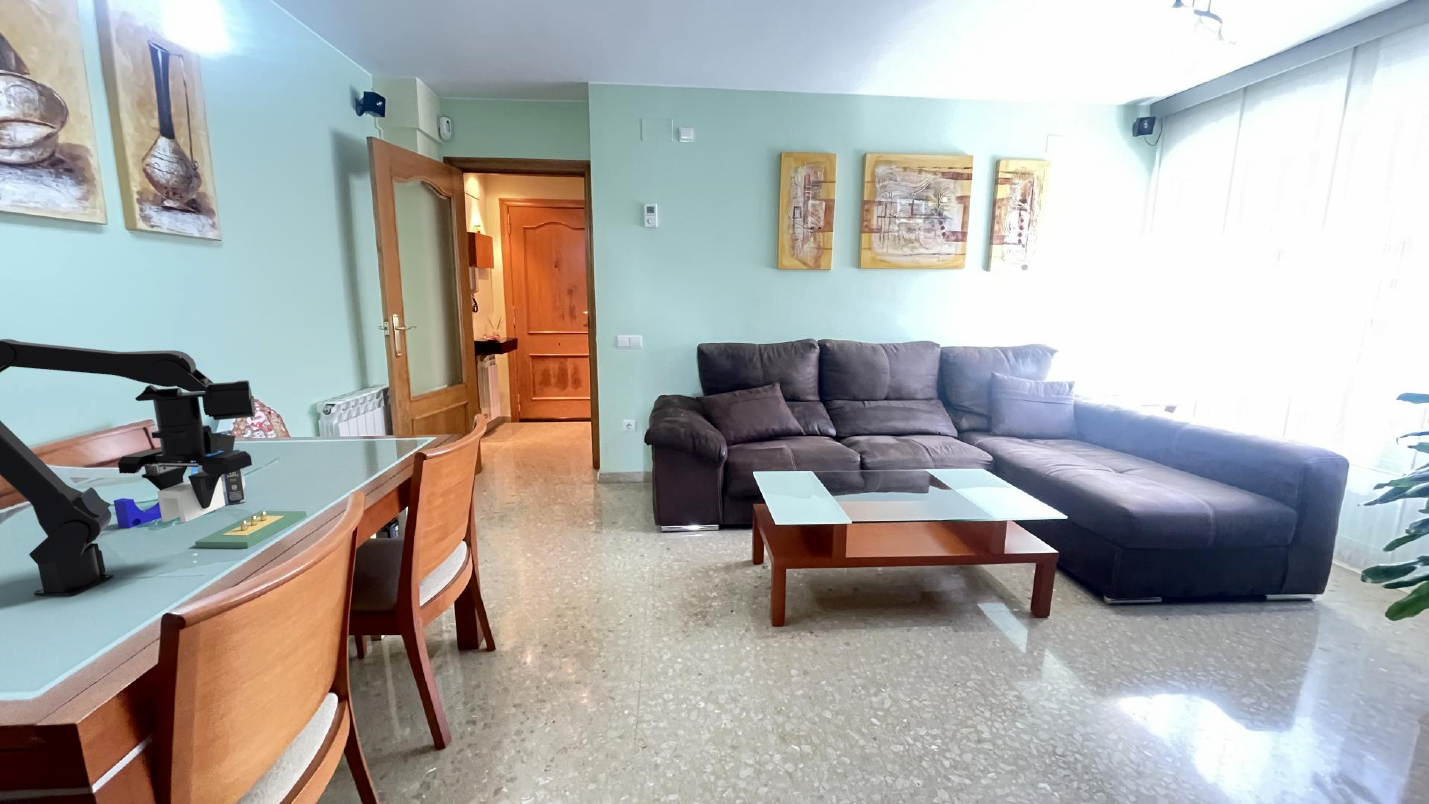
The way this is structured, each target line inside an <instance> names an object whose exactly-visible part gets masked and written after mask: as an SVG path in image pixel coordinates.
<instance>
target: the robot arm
mask: <svg viewBox="0 0 1429 804" xmlns="http://www.w3.org/2000/svg"><path fill="white" fill-rule="evenodd" d="M11 367H13V368H25V369H35V370H46V371H47V370H49V371H60V372H71V373H82V374H83V373H85V374H95V375H96V374H97V375H108V376H116V377H121V378H124V379H129V380H132V381H136V382H139V383H143V384H148V385H147V386H145V387H144V390H143V391H142V392H141V393H140V394H139V395H137V396H136V397H135V401H137V402H146V401H152V402H153V409H154V414H155V420H156V426H157V430H156V431H151V433H150V435H151V438H152V439H159V442H160V443H159V444H160V449H145V450H141V451H137V452H135V453H134V452H133V453H130V454H126V455H123V456H121V458H120V459H119V461H118V462H117V466H118V472H119V474H137V473H140V471H141V470H142V469H143V468H144V472H145V473H143V474H141V478H143V479H146V480H147V481H149V482H150V483H151V484H153V485H154V486H155V488H156V489H158V491H160V490H163V489H166V488H169V487H172V486H175V485H178V484H180V483H183V482H184V475H185V473H186V471H187V470H188V468H192V467H198V468H199V469H198V473H196V474H193V475H191V474H190V475H188V476H187V478H188V479H189V480H190V482H191V485H192V487H193V490H194V492H195V494H196V497H197V499H198V501H199V503H200V505H201V507H202V508H203V509H206V508H208V507H209V506H210V504H211V501H212V497H213V494H214V491H215V488H216V485H217V482H218V480H219V478H220V477H221V475H223V474H229V473H232V472H234V471H237V470H240V469H243V470H244V469H245V468H248V467H250V466H252V465H253V462H252V456H251V454H250V453H249V452H247V451H246V450H240V451H233V450H234V447H235V440H236V435H233V434H223V433H214V432H213V431H212V427H211V426H210V425H208V424H203V418H202V411H201V405H200V404H201V403H200V398H201V400H202V408H203V412H204V415H205V416H208V417H209V418H211V417H212V418H213V420H214V421H223V420H233V419H246V418H255V416H256V406H255V397H254V395H253V394H252V388H251V386H250V381H249V380H237V381H232V382H213V381H212V380H211V379H210V378H209V377H207V376H206V375H205V374H204V373H202V372H201V371H200V370H198V369H197V364H196V363H195V359H193V357H192V356H190V355H189V354H188V353H186V352H184V351H180V350H142V351H141V350H140V351H139V350H138V351H137V350H136V351H116V350H104V349H95V348H85V347H75V346H67V345H65V346H64V345H55V344H47V343H46V344H45V343H37V342H36V343H35V342H25V341H19V340H16V339H11V338H1V339H0V374H1V373H3V371H6V370H7V369H9V368H11ZM155 386H158V387H163V388H157V387H155ZM173 387H174V388H173ZM182 390H184V391H185V392H183V391H182ZM218 451H225V452H221V453H218V454H215V455H212V456H207V455H208V454H214V453H217V452H218ZM193 461H196V462H193ZM0 476H1V478H2V479H4V480H5V481H6V482H7V483H8V484H9V485H10V486H11V487H12V488H13V489H14V490H16V491H17V492H18V493H19V494H20V495H21V496H22V497H23V499H26V501H27V502H29V504H30V505H31V506H32V508H33V511H34V513H35V515H36V519H37V523H38V524H39V527H41V529H42V530H43V531H44V533H45V535H46V536H47V537H45V539H44V540H43V541H41V542H40V543H39V544H38V545H37V546H36V547H35V548H34V549H32V551H31V552H29V554H28V555H29V557H30V559H32V560H33V562H35V564H36V565H37V567H38V573H39V577H40V581H41V587H42V588H39V589H38V590H35V591H33V595H34V596H75V595H77V594H79V593H81V592H84V591H86V590H88V589H90V588H93V587H94V586H97V585H99V584H100V583H103V582H106V581H107V580H110V579H112V578H113V577H114V573H106V565H105V561H104V556H103V551H102V550H100V547H99V543H95V542H94V541H95V540H96V539H97V537H99V535H100V534H102V532H103V531H104V530H105V529H106V528H107V527H108V525H109V524H110V523H111V520H112V516H113V515H112V512H111V510H110V509H109V508H110V507H111V503H109V502H107V501H105V500H104V499H102V498H101V496H100V495H99V494H98V492H97V491H96V489H95V488H94V487H89V488H88V489H85V491H81V490H79V489H76V488H73V487H71V486H69V485H68V484H66V483H65V481H63V480H62V479H61V478H60V477H59V476H58V475H57V474H56V473H55V472H54V471H53V470H52V469H51V468H50V467H49V466H48V465H47V463H45V462H44V461H43V460H41V458H39V456H38V455H36V454H35V453H34V451H32V450H31V448H29V447H28V445H26V443H24V441H22V439H20V438H19V437H18V436H17V435H16V434H15V433H14V432H13V431H12V430H11V429H9V427H7V425H6V424H5V423H4V422H2V421H1V420H0ZM189 480H188V481H189ZM93 542H94V543H93Z"/></svg>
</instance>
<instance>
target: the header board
mask: <svg viewBox="0 0 1429 804" xmlns="http://www.w3.org/2000/svg"><path fill="white" fill-rule="evenodd" d="M307 515H308V514H307V511H301V510H297V511H296V510H294V511H293V510H259V511H257V512H254V513H253V514H251V515H249V516H246V517H244V518H242V519H241V520H238V521H236V522H234V523H232V524H229V525H227V526H225V527H222V528H221V529H219V530H217V531H215V532H213V533H211V534H209V535H206V536H203V537H202V538H199V539H198V540H195V541H194V544H195V548H201V549H202V548H206V549H207V548H209V549H210V548H215V549H216V548H217V549H219V548H220V549H226V548H227V549H230V548H231V549H249V548H252V546H255V545H256V544H259V543H261V542H262V541H264V540H265V539H267V538H269V537H271V536H273V535H276V534H277V533H278V532H281V531H282V530H285V529H286V528H288V527H290V526H292V525H294V524H296V523H298V522H299V521H301V520H303V519H305V518H307Z"/></svg>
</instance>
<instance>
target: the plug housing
mask: <svg viewBox="0 0 1429 804" xmlns="http://www.w3.org/2000/svg"><path fill="white" fill-rule="evenodd" d="M156 492H157V493H156V494H157V500H158V502H159V505H160V511H161V516H162V518H161V521H162V523H167V522H171V521H173V520H175V519H177V518H178V519H180V522H181V523H187V522H190V521H192V520H194V519H196V518H199V517H201V516H204V515H206V514H208V513H211V512H213V511H215V510H217V509H220V508H223V507H225V506H226V505H225V501H224V494H223V488H222V481H221V477H220V478H219V480H218V482H217V485H216V488H215V491H214V494H213V497H212V501H211V504H210V506H209V507H208V508H206V509H203V508H202V507H201V505H200V503H199V501H198V499H197V497H196V494H195V492H194V490H193V487H192V485H191V482H190V480H187V481H183V483H180V484H178V485H175V486H172V487H169V488H166V489H163V490H158V491H156Z"/></svg>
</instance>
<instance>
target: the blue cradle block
mask: <svg viewBox="0 0 1429 804" xmlns="http://www.w3.org/2000/svg"><path fill="white" fill-rule="evenodd" d="M113 505H114V510H115V516H116V521H117V527H118V528H124V529H133V528H134V527H138V526H141V525H144V524H148V523H150V522H152V521H153V522H154V521H156V520H159V519H162V516H161V511H160V505H159V501H157V502H156V503H155V504H154V505H153V506H151V507H149V508H146V509H144V511H143V510H142V509H140V508H139V507H138V506H137V504H136V502H135V499H134V498H126V497H121V498H118V499H115V500H113ZM149 521H150V522H149Z"/></svg>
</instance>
